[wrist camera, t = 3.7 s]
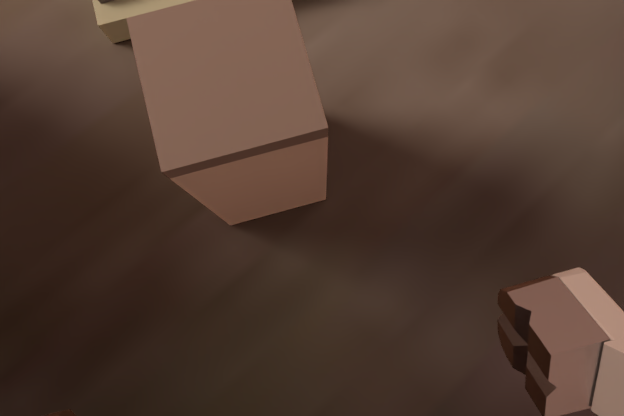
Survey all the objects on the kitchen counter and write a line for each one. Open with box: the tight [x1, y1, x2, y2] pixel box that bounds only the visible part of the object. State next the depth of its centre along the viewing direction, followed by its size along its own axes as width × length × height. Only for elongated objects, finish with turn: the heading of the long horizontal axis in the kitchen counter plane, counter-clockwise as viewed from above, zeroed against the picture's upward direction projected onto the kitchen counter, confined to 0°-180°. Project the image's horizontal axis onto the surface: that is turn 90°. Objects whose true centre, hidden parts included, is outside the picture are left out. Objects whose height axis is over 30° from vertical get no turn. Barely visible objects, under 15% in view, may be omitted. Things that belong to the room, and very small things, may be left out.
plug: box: [126, 0, 328, 225], centre depth 17 cm, size 4×4×9 cm
